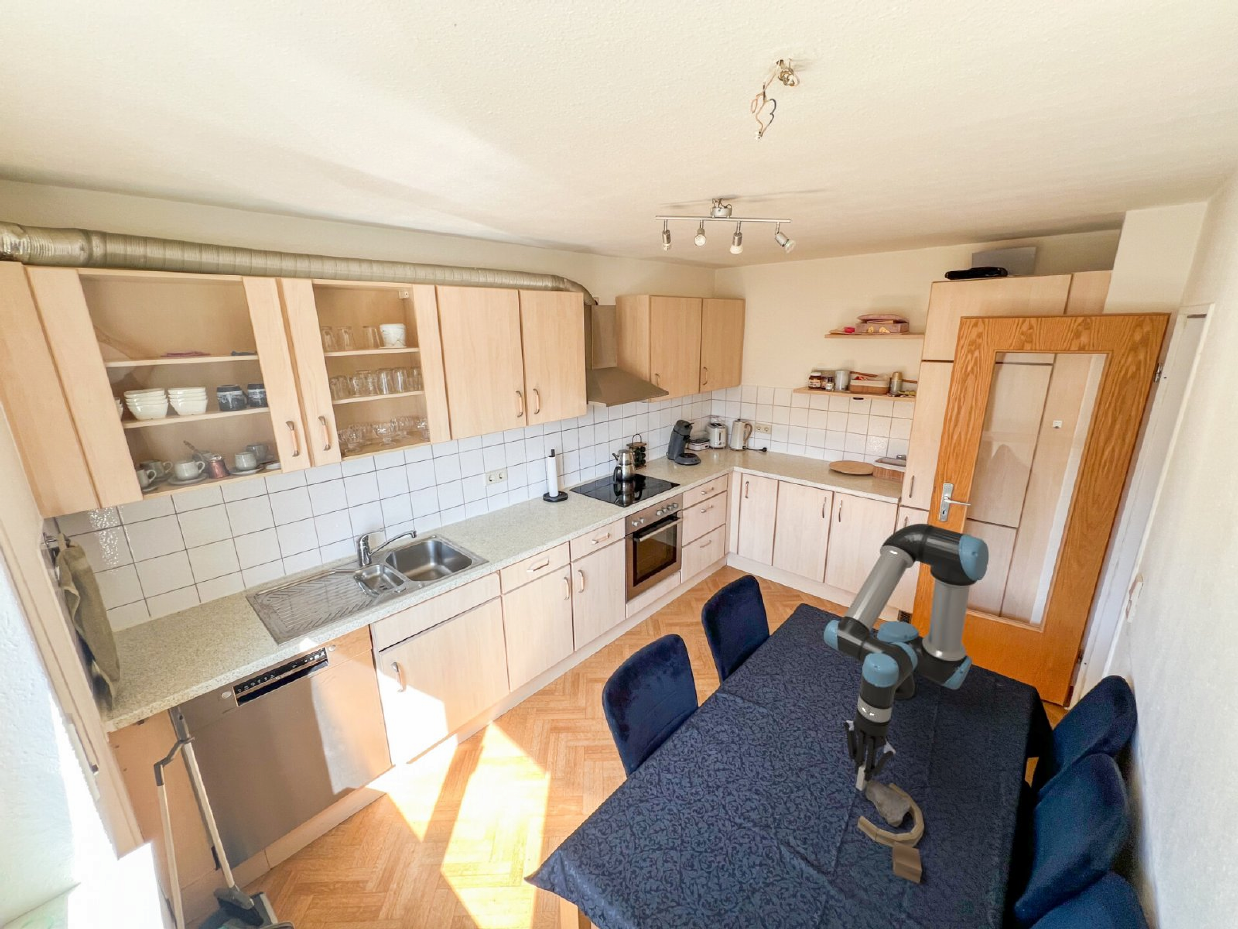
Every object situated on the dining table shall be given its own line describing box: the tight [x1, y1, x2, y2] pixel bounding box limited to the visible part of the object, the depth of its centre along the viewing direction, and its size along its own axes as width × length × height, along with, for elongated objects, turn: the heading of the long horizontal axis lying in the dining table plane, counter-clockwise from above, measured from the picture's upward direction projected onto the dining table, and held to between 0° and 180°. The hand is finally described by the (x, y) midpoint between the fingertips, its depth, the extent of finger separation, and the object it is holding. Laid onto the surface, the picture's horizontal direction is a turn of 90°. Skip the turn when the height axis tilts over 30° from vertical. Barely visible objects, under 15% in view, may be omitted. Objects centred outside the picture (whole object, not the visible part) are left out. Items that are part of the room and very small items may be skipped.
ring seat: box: [856, 782, 925, 848], centre depth 122 cm, size 17×11×2 cm, turn 127°
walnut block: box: [891, 841, 923, 884], centre depth 112 cm, size 5×5×4 cm
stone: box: [864, 778, 911, 828], centre depth 126 cm, size 8×10×6 cm
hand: (861, 786), depth 129 cm, fingers closed
